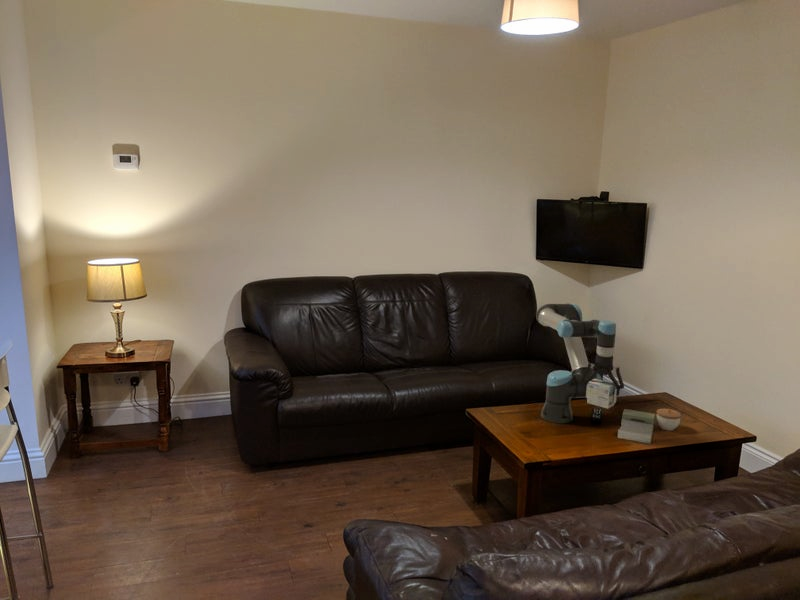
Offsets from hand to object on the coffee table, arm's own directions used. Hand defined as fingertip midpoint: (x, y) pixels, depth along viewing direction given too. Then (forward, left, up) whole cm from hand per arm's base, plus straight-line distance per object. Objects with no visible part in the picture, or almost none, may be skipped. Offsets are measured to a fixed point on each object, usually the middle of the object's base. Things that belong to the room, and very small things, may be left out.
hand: (600, 399), depth 279 cm
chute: (+16, +5, -16) cm, 23 cm away
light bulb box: (0, 0, -3) cm, 3 cm away
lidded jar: (+29, +21, -16) cm, 39 cm away
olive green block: (+16, +17, -16) cm, 28 cm away
